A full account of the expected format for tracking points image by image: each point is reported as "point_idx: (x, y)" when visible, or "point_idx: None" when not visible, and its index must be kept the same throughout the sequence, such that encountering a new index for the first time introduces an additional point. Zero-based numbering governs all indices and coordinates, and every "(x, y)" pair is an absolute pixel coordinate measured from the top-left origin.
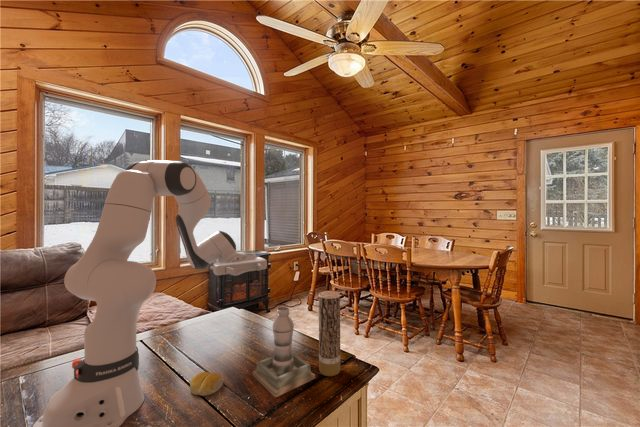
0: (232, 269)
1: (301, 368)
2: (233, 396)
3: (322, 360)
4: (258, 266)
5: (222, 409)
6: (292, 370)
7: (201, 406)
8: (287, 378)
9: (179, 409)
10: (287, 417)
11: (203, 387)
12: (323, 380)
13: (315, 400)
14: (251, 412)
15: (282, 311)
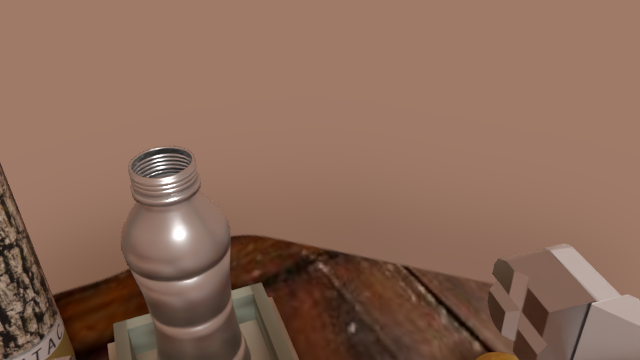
0: (571, 252)
1: None
2: (401, 343)
3: (61, 318)
4: (57, 358)
5: (428, 303)
6: None
7: (496, 328)
8: None
9: None
10: (264, 245)
11: (511, 354)
12: (92, 337)
13: None
14: (348, 276)
15: (177, 149)
